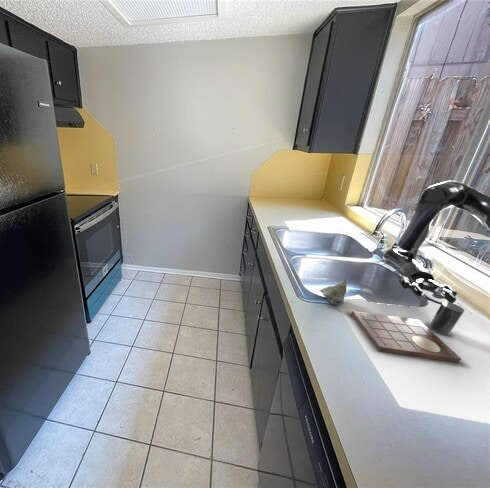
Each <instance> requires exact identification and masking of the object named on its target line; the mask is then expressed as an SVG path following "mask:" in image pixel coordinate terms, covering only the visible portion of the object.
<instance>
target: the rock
mask: <svg viewBox="0 0 490 488" xmlns="http://www.w3.org/2000/svg"><path fill="white" fill-rule="evenodd" d="M347 283H348V280H347V279H345V280H342V281H341V282H339V283H337V284H334V285H329V286H326V287H324V288H321V289H320V290H319V291H320V292H321V293H322V295H323V297H324V298H325V299H326V300H327V301H328V303H330V304H332V305H343V304H344V300H345V296H346V293H347Z"/></svg>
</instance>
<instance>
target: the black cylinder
mask: <svg viewBox="0 0 490 488" xmlns="http://www.w3.org/2000/svg"><path fill="white" fill-rule="evenodd" d="M464 313H465V309H464V308H463V307H462V306H460V305H457V304H455V303H449V302H448V301H443V302H441V304H440V305H439V308H438V309H437V311H436V312H435V314H434V316H433V318H432V319H431V321H430V323H429V325H428V328H429V329H430V330H431V331H432V332H435V333H437V334H440V335H443V336H449V335H450V334H451V333H452V332H453V330H454V328H455V327H456V325H457V323H458V322H459V320H460V319H461V318H462V316H463V314H464Z"/></svg>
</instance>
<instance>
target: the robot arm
mask: <svg viewBox="0 0 490 488" xmlns="http://www.w3.org/2000/svg"><path fill="white" fill-rule="evenodd" d="M451 207H453V208H455V209H458V210H461V211H463V212H466V213H468V214H470V215H472V216H473V217H475V218H476V219H477V220H478V221H479V222H480V223H481V224H482V225H483V226H484V228H485V229H486V230H487V231H488V232H490V196H489V195H487V194H485V193H483V192H481V191H479V190H477V189H475V188H473V187H471V186H469V185H468V184H465V183H462V182H460V181H456V180H446V181H442V182H440V183H436V184H433V185H430V186H428V187H426V188H424V190H423V191H422V193H421V195H420V197H419V199H418V202H417V204H416V208H415V210H414V212H413V214H412V217H411V219H410V221H409V224H408V225H407V227H406V229H405V230H404V231H403V233H402V235H401V236H400V238H399V239H398V241H397V247H398V248H389V249H387V250H385V251H384V253H383V256H382V257H383V260H384V262H385V264H387V265H388V266H389V267H391V268H392V269H395V270H397V272H399V274H400V277H399V280H398V282H399V284H400V286H401V287H402V288H403V289H405V290H407V289H409V291H411V292H413V294H415V295H416V296H417V297H422V295H423V293H424V292H423V291H427V292H430V293H432V294H434V295H436V296H441V297H443V298H444V299H445V300H446V302H449V303H453V304H455V303H456V301H457V295H458V293H459V292H458V291H457V290H456V289H455V288H453V287H452V286H451V285H450V284H448V283H444V284H439V282H436V281H435V277H434V276H433V274H432V273H431V272H429V270H428V269H427V268H425V266H423V265H422V264H420V263H419V262H418V261H417V256H418V253H419V250H420V248H421V246H422V245H423V244H424V242H425V241H426V240H427V238H428V236H429V234H430V229H431V225H432V223H433V221H434V219H435V218H436V217H437V216H438V214H440V213H441V212H442V211H443V210H445V209H449V208H451Z"/></svg>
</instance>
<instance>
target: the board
mask: <svg viewBox="0 0 490 488" xmlns="http://www.w3.org/2000/svg"><path fill="white" fill-rule="evenodd" d="M350 315H351V317H352V318H353V319H354V321H356V323H357V325H358V326H359V328H361V330H362V332H364V334H365V335H366V337H367V338H368V339H369V341H370V342H371V343H372V345H373V346H374V347H375V349H376V350H377V351H378V352H385V353H391V354H397V355H404V356H405V355H406V356H411V357H416V358H417V357H418V358H425V359H431V360H439V361H445V362H451V363H458V364H459V363H460V362H461V360H462V358H461V357H460V356H459V354H457V353H456V352H455V351H454V350H452V348H451V347H449V345H447V344H446V343H445V342H444V341H443V340H442V339H441V338H440V337H439V336H437V335H436V334H435V333H434V331H433V330H432V329H431V328H430V327H429V326H428V327H427V325H425V324H424V322H423V321H421V320H420V319H418V318H410V317H402V316H395V315H388V314H380V313H372V312H364V311H356V310H351V313H350Z"/></svg>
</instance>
